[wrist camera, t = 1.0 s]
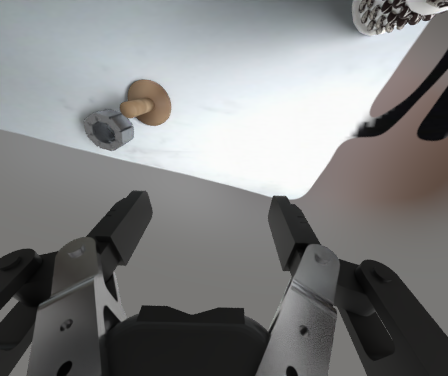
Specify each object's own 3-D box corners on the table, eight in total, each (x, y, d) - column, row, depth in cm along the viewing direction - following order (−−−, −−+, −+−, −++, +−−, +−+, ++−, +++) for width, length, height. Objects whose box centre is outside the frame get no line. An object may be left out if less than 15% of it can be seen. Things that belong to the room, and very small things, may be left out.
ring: (102, 138, 32) (87, 144, 29) (98, 105, 29) (81, 108, 26) (133, 146, 33) (123, 153, 30) (133, 115, 30) (121, 120, 26)
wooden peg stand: (124, 105, 29) (92, 113, 22) (141, 68, 26) (111, 64, 19) (159, 132, 31) (140, 146, 24) (178, 101, 28) (163, 107, 22)
